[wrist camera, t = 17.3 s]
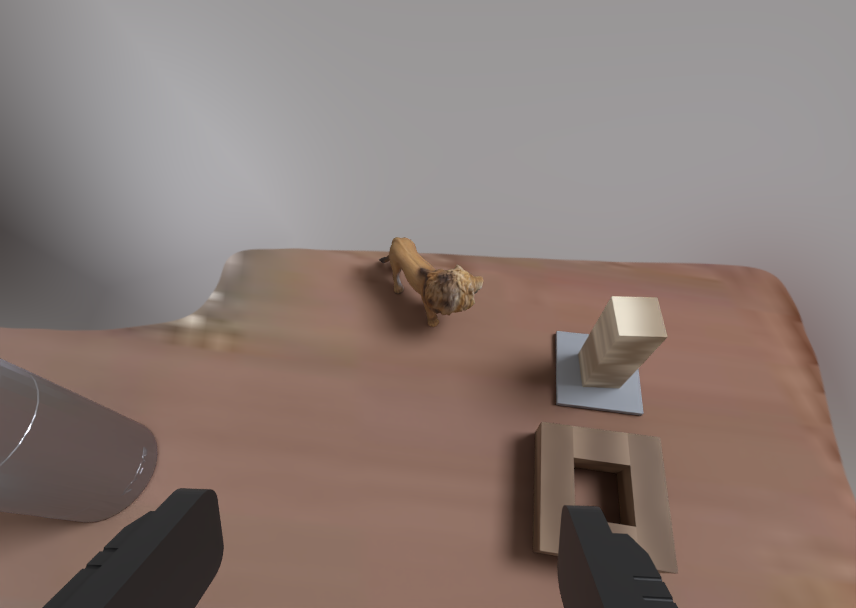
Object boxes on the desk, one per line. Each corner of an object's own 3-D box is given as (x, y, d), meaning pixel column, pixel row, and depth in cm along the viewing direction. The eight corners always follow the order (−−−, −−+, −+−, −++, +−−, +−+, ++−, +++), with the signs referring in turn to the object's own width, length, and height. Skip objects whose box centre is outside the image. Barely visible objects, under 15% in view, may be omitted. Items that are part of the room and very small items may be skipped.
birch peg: (582, 386, 42) (619, 335, 33) (577, 353, 44) (611, 296, 35) (619, 388, 42) (667, 336, 33) (613, 355, 44) (657, 297, 35)
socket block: (532, 552, 36) (540, 550, 33) (535, 432, 41) (541, 421, 38) (658, 572, 34) (678, 573, 31) (644, 447, 40) (660, 437, 37)
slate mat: (556, 404, 42) (557, 402, 42) (555, 333, 46) (556, 331, 46) (641, 415, 41) (643, 413, 41) (632, 341, 45) (634, 339, 45)
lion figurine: (486, 316, 48) (493, 269, 40) (455, 349, 46) (456, 305, 38) (394, 250, 54) (385, 197, 46) (363, 276, 52) (348, 225, 44)
